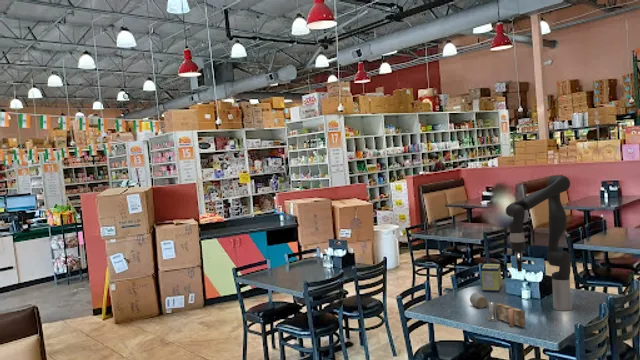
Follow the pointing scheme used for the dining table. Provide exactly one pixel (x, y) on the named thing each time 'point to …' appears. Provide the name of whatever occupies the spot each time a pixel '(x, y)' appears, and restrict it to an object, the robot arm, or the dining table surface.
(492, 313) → the hinge post
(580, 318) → the dining table surface
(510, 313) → the latch post
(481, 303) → the ceramic mug
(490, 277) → the protein box
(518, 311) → the gate
